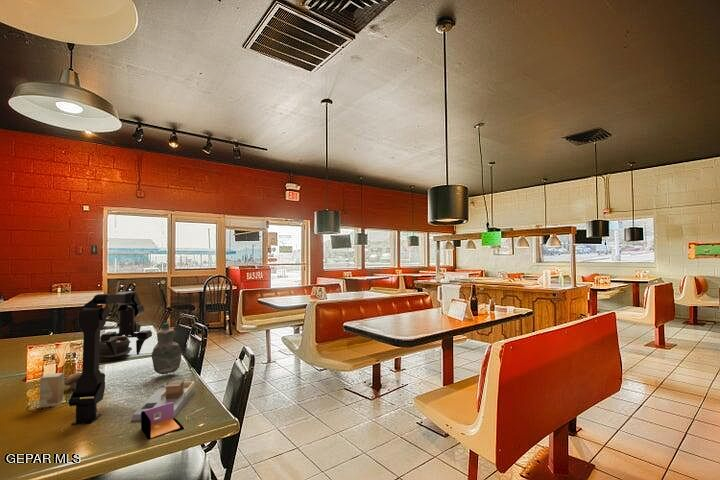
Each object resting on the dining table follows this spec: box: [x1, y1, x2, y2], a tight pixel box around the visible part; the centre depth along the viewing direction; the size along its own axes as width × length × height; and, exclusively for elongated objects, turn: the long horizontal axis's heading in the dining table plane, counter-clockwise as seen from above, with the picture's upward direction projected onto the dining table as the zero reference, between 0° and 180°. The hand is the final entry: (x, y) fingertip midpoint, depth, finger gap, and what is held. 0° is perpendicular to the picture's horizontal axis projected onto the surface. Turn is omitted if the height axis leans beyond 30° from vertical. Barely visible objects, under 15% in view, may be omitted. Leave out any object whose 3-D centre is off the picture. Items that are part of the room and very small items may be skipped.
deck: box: [131, 380, 196, 421], centre depth 137 cm, size 24×14×4 cm, turn 9°
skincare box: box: [38, 372, 65, 408], centre depth 138 cm, size 6×4×12 cm
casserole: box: [99, 338, 133, 359], centre depth 204 cm, size 25×19×8 cm
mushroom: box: [64, 372, 82, 390], centre depth 155 cm, size 8×8×6 cm
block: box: [165, 380, 185, 399], centre depth 139 cm, size 5×5×5 cm
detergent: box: [151, 322, 182, 375], centre depth 172 cm, size 13×7×25 cm, turn 124°
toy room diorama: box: [140, 402, 185, 440], centre depth 118 cm, size 12×12×7 cm
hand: (126, 355), depth 152 cm, fingers open, 9 cm apart
